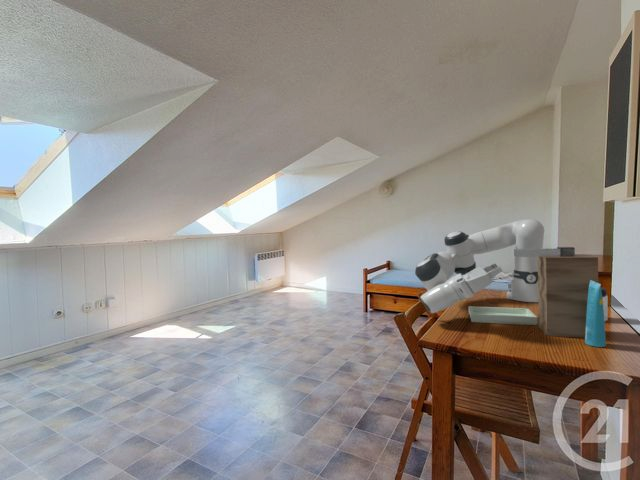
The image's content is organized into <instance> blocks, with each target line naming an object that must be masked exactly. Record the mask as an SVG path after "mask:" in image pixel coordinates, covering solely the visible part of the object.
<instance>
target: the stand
mask: <svg viewBox="0 0 640 480" xmlns="http://www.w3.org/2000/svg"><path fill="white" fill-rule="evenodd" d="M590 280H592V281H594V282H596V283H599V256H593V255H589V254H575V257H538V302H537V305H538V306H537V307H538V308H537V309H538V310H537V311H538V314H537V315H538V316H537V319H538V328H539V329H540V330H541V331H542V332H543V334H545V335H546V336H549V337H550V336H551V337H564V338H565V337H566V338H579V339H580V338H581V339H585V332H586V314H587V300H588V290H589V284H590Z"/></svg>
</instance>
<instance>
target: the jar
mask: <svg viewBox="0 0 640 480" xmlns="http://www.w3.org/2000/svg"><path fill="white" fill-rule="evenodd" d="M600 287H601V292H602V299H603V309H604V322H607V321H608V320H609V317H608V316H609V312H608V311H609V309H608V308H609V307H608V305H609V303H608V302H609V301H608V300H609V299H608V297H609V296H608V295H607V294H608V293H607V288H606V287H602V286H600Z"/></svg>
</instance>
